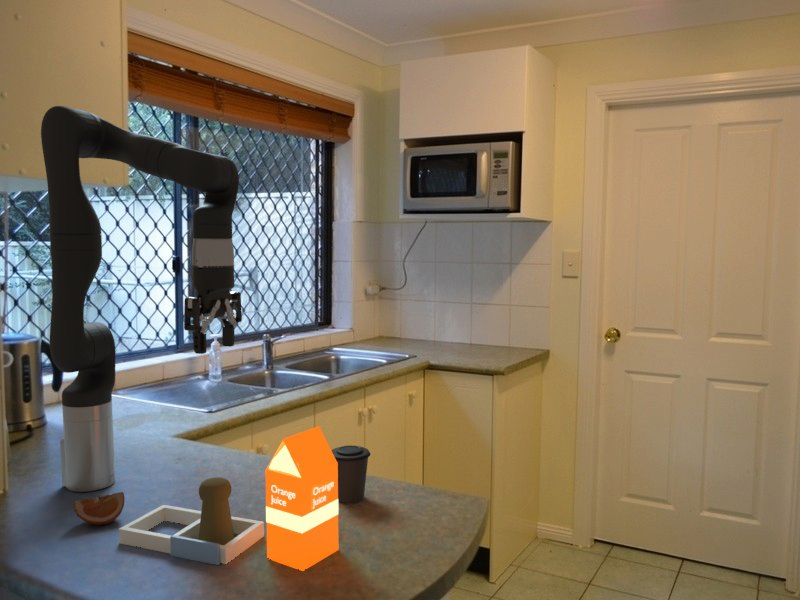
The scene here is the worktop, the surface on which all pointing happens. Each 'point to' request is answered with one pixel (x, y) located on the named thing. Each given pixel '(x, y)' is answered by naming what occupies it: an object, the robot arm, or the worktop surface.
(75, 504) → the fruit slice
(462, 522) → the worktop surface
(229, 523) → the olive rounded piece
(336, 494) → the orange juice
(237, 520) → the white flat rectangular frame
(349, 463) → the coffee cup
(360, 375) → the worktop surface
